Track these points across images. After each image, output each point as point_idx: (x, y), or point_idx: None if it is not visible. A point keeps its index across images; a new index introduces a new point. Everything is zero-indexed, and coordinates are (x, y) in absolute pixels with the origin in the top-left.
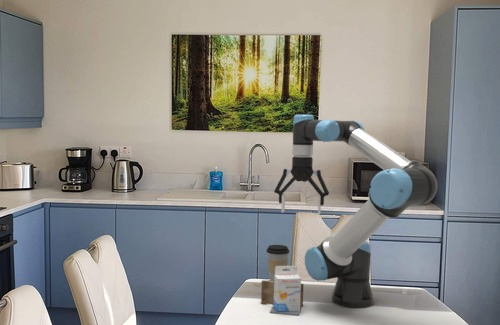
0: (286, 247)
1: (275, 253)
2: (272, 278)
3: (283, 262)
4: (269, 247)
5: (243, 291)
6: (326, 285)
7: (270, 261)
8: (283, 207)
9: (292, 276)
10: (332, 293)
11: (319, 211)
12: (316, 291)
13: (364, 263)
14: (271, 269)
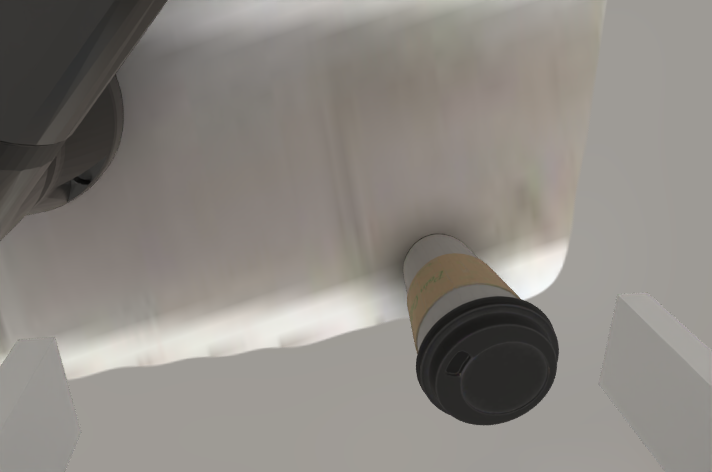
0: (441, 380)
1: (496, 300)
2: (464, 247)
3: (432, 295)
4: (548, 343)
5: (581, 83)
6: (204, 308)
7: (507, 287)
8: (666, 341)
9: None
10: (106, 89)
11: (3, 374)
12: (230, 203)
13: None
14: (485, 265)
